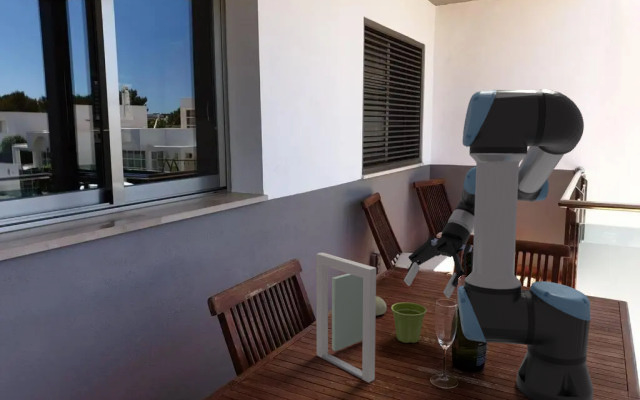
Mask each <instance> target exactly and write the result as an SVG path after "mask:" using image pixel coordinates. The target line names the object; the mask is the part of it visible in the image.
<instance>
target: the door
mask: <svg viewBox="0 0 640 400" xmlns="http://www.w3.org/2000/svg"><path fill="white" fill-rule="evenodd" d="M359 342H363V278H361V277H358V276H355V275H352V274H349V273H344V274H341V275H340V274H339V275H337V276H334V277H331V350H332V351H334V352H338V351H340V350H342V349H345V348H347V347H350V346H352V345H354V344H357V343H359Z"/></svg>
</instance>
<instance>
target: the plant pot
mask: <svg viewBox="0 0 640 400" xmlns="http://www.w3.org/2000/svg"><path fill="white" fill-rule="evenodd" d="M391 311H392V313H393V318H394V326H395V327H394V328H395V335H396V337H395V338H396V339H397V340H398V341H399V342H402V343H406V344H408V343H417V342H419V341H420V339H421V333H422V328H423V327H422V326H423V322H424V318H425V314H426V313H427V311H428V309H427V308H426V307H425V306H424V305H421V304H419V303H415V302H397V303H394V304H392V305H391Z"/></svg>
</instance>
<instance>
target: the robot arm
mask: <svg viewBox="0 0 640 400" xmlns="http://www.w3.org/2000/svg"><path fill="white" fill-rule="evenodd" d="M584 128H585V122H584V118H583V114H582V112H581V110H580V109H579V107H578V106H577V104H576V103H575V102H574V101H573V99H571V98H570V97H568V96H567V95H565V94H563V93H561V92H559V91H557V90H556V91H555V90H553V89H492V90H491V89H490V90H480V91H477V92H474V93H473V94H472V96H471V97H470V99H469V102H468V105H467V110H466V113H465V119H464V124H463V132H462V145H463V146H464V147H466V148H468V147H469V156H470V157H471V158H472V159H473V160H474V162H475V163H476V165H475V166H474V167H472V168H470V169H469V170H468V171H467V172H466V174H465V177H464V180H463V186H462V191H461V194H460V195H461V196H460V199H459V201H458V203H457V205H456V207H455V208H454V210H453V212H452V213H451V215H450V217H449V218H448V221H447V223H446V224H445V226H444V228H443V230H442V231H441V236H440V237H439V238H436V237H434V235H431V236H430V235H429V236H430V237H429V238H428V239H427V240H426V241H425V242H424V243H423V244H422V245H420V246H419V247H418V248H417V249H416V250H415V251H413V252H412V253H411V254H410V255H408V257H407V258H408V259H409V261H410V262H411V263H410V266H409V267H408V269H407V274H406V276H404V277H405V278H404V279H403V282H404V283H405V284H406V285H407V286H409V287H410V286H411V285H412V283H413V281H414V280H415V277H416V276H417V274H418V272H419V270H420V269H421V267H420V266H421V265H422V264H425V263H426V262H428V261H430V260H431V259H433V258H435V257H439V256H440V255H441V256H444V257H448V258H452V259H453V264H454V266H455V272H453V273H452V274H451V276H450V279H449V281H448V282H447V284H446V286H445V288H444V290H443V291H442V293H443V294H444V296H445V297H446V298H447V299H450V298H451V296H452V294H453V292H454V290H455V288H457V301H458V302H457V304H458V312H459V318H460V325H461V331H462V335H464V337H465V338H466V339H467V340H469V341H475V342H481V343H485V344H486V343H496V344H507V345H508V344H513V345H525V346H527V347H526V349H527V350H526V353H525V356H524V358H523V360H522V361H521V364H520V366H519V367H518V368H519V369H518V370H517V373H516V387H517V389H518V391H520V392H521V393H522V394H523V395H524V396H525V397H527V398H528V399H529V400H593V398H594V385H593V382H592V378H591V375H590V372H589V368H588V365H587V356H588V355H587V354H588V344H589V334H590V333H589V332H590V322H591V319H592V317H591V301H590V299H589V298H588V296H587V295H586V294H585V293H583V292H582V291H580V290H578V289H576V288H573V287H571V286H568V285H565V284H561V283H557V282H552V281H544V280H543V281H540V280H539V281H534V282H532V283H531V285H530V287H529V289H522V282H521V280H519V278H518V277H517V276H516V275H515V262H516V261H515V260H516V259H515V258H516V241H517V240H516V237H517V219H518V218H517V216H518V215H517V213H518V212H517V211H518V202H519V201H521V202H538V201H539V202H540V201H541V202H543V201H544V200H545V199H547V197H548V194H549V189H550V188H549V186H550V184H549V177H550V176H551V174H552V173H553V171H554V170H555V168H556V167H557V165H558V164H559V162H560V161H561V160H562V159H563V157H564V156H565V155H566V154H568V153H570V152H572V151H574V149H575V148H576V147H577V146H578V144H579V142H580V141H581V139H582V137H583V134H584V130H585V129H584ZM472 233H473V242H472V243H473V246H472V245H471V243H468V241H469V239H470V236H471V234H472ZM460 252H463V267H462V263H461V259H460V255H459V253H460ZM468 252H472V270H471V273H470V274H469V275H468V276H467V277H464V285H461V286H460V285H459V286H458V287H457V285H458V278H459V277H460V276H462V275H464V274H465V270H466V254H467V253H468Z"/></svg>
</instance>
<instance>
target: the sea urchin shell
mask: <svg viewBox="0 0 640 400" xmlns="http://www.w3.org/2000/svg"><path fill="white" fill-rule="evenodd" d="M387 308H388V307H387V303H386V302H385V300H384V299H382V297H380V296H378V295H376V316H381V315H382V316H383V315H384V314H385V313H386V312H387Z"/></svg>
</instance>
